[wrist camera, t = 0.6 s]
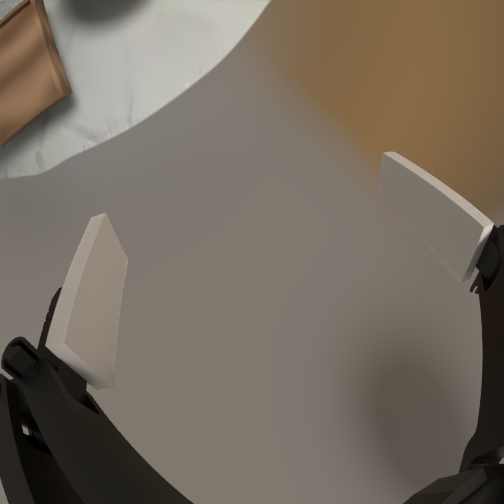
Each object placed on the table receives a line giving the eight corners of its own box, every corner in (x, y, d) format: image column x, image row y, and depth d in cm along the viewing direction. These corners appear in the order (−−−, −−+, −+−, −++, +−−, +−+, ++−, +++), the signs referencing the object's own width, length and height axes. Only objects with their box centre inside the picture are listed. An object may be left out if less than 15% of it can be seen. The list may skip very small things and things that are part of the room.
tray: (-23, 68, 15) (-50, 75, 9) (56, 1, 15) (33, -7, 10) (6, 147, 25) (-19, 165, 20) (85, 89, 25) (64, 95, 20)
